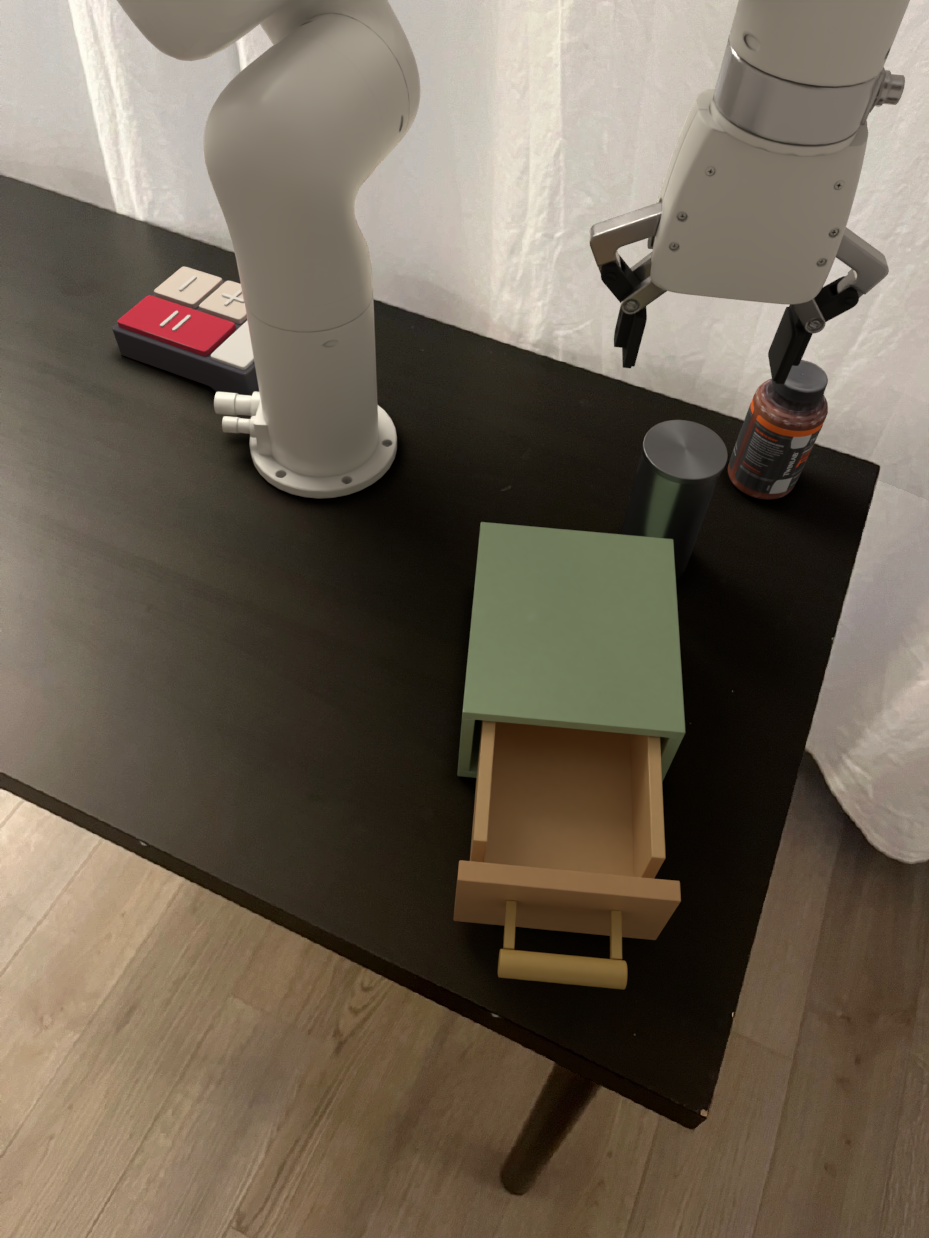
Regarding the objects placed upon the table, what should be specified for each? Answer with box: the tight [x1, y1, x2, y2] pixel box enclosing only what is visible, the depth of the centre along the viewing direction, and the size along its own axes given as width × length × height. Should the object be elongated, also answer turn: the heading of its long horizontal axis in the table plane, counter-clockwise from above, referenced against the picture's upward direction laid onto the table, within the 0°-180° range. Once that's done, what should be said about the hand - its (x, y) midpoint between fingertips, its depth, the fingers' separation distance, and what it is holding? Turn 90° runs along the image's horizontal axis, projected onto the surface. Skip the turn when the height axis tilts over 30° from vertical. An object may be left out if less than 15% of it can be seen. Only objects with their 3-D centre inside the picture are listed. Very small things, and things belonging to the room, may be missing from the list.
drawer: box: [453, 720, 682, 990], centre depth 58 cm, size 19×12×7 cm, turn 175°
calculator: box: [112, 266, 259, 396], centre depth 89 cm, size 11×4×15 cm
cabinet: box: [456, 521, 686, 783], centre depth 66 cm, size 16×14×9 cm
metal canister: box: [619, 419, 728, 581], centre depth 72 cm, size 6×6×12 cm
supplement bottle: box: [727, 359, 829, 501], centre depth 79 cm, size 6×6×11 cm
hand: (701, 362), depth 62 cm, fingers open, 9 cm apart
